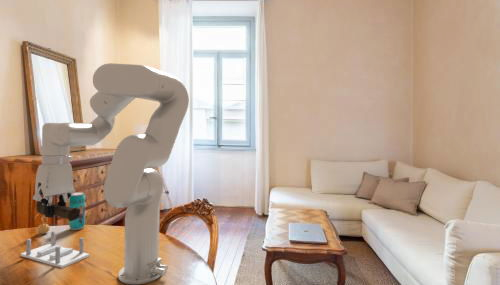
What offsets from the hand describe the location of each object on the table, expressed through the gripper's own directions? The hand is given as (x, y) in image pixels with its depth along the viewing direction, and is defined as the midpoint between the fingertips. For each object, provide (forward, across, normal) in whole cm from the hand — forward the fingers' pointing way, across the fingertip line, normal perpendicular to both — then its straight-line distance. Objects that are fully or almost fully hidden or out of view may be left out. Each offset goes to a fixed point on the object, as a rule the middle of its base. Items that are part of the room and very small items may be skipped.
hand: (55, 214), depth 94 cm
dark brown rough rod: (+1, 0, 0) cm, 1 cm away
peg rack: (+14, 0, 0) cm, 14 cm away
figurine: (+14, -12, -23) cm, 29 cm away
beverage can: (+14, -22, -18) cm, 31 cm away
